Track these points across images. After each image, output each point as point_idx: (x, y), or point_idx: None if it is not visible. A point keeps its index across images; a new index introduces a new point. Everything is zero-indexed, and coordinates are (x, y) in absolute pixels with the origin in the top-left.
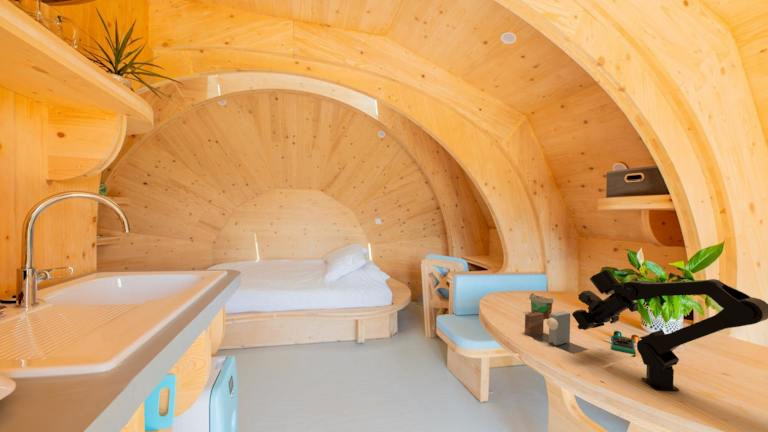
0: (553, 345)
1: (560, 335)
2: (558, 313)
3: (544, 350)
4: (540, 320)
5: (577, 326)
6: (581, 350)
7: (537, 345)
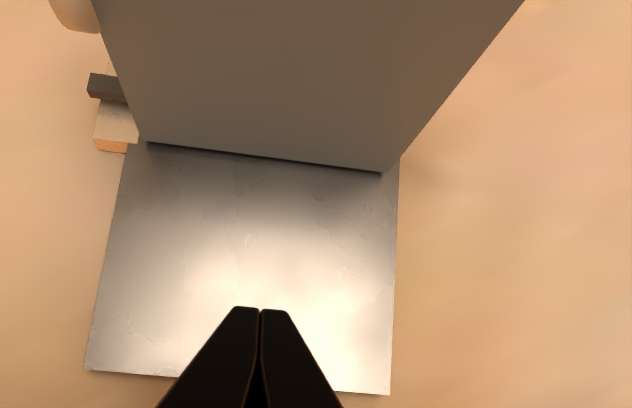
0: None
1: (217, 104)
2: None
3: (4, 108)
4: None
5: (233, 307)
6: None
7: None
